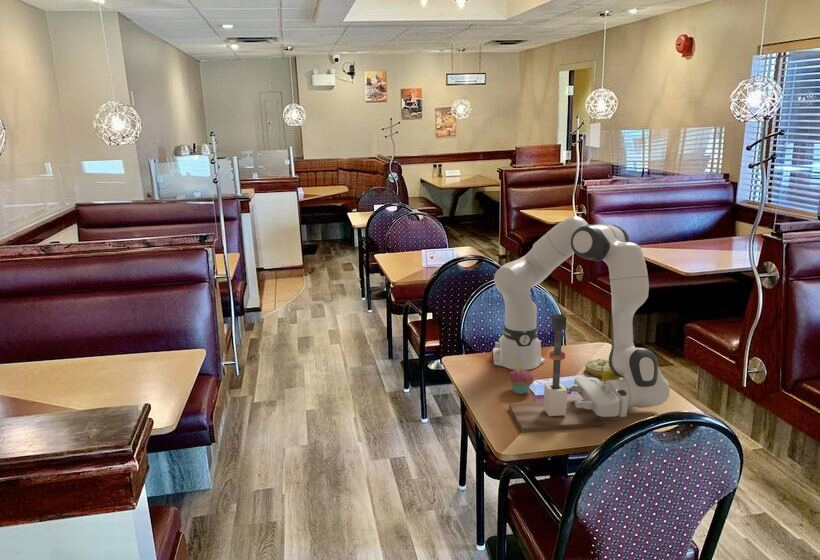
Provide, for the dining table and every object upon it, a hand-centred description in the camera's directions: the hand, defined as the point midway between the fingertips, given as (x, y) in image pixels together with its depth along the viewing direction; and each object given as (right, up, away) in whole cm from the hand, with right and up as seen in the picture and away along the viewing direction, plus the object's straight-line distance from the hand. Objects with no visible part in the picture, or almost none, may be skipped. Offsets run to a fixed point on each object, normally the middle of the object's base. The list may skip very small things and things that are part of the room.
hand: (569, 397), depth 189 cm
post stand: (-4, -6, +1) cm, 8 cm away
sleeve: (-4, -4, +1) cm, 6 cm away
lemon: (+18, -2, +19) cm, 26 cm away
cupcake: (-11, -2, +20) cm, 23 cm away
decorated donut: (+19, +2, +34) cm, 39 cm away
